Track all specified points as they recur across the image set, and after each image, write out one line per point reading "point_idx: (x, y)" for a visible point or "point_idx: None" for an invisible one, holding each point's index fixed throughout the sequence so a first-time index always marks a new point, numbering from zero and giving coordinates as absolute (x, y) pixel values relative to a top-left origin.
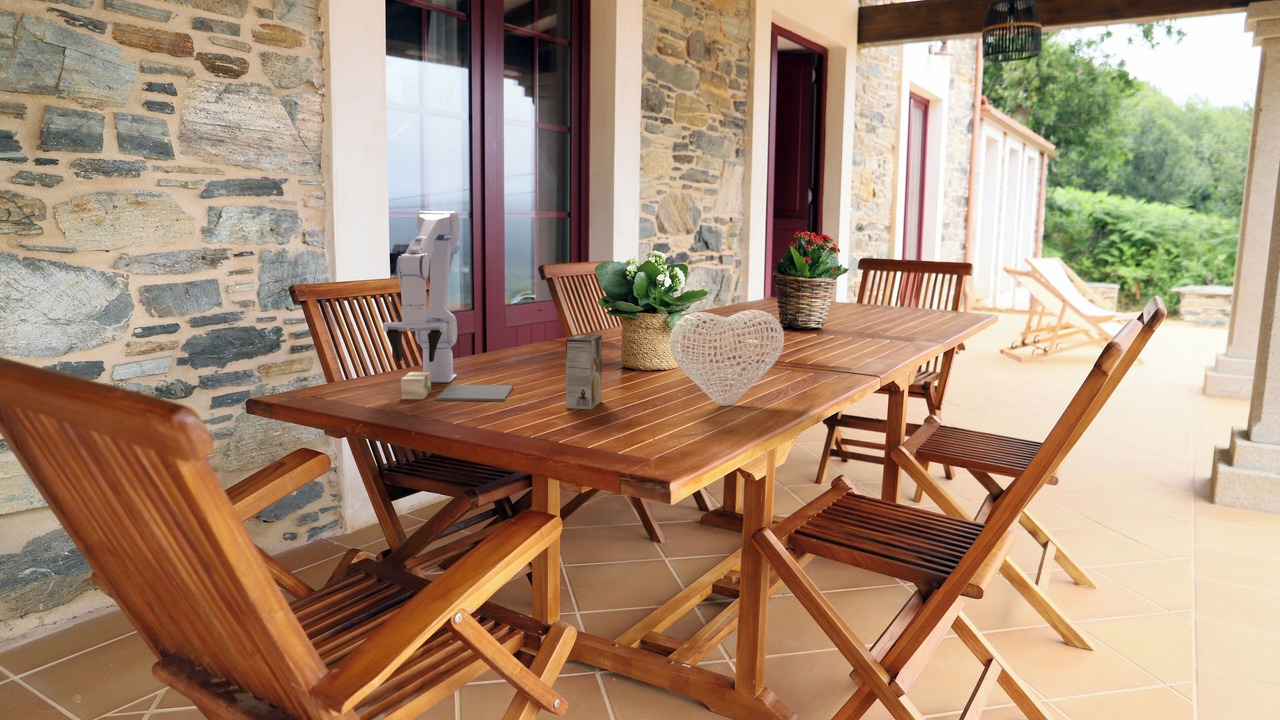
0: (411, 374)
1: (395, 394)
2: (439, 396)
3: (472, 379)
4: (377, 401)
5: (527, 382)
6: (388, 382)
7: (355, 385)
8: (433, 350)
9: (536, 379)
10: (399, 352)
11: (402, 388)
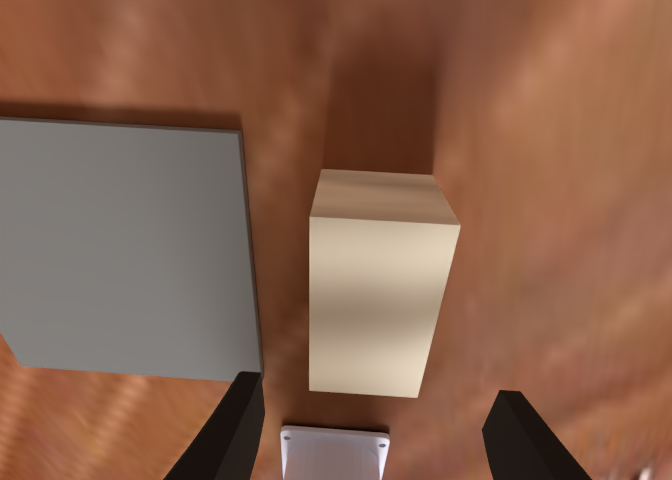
0: (402, 346)
1: (467, 269)
2: (231, 172)
3: None
4: (568, 108)
5: (32, 420)
6: None
7: (625, 410)
8: (175, 464)
9: (30, 448)
10: (533, 475)
11: (437, 197)
